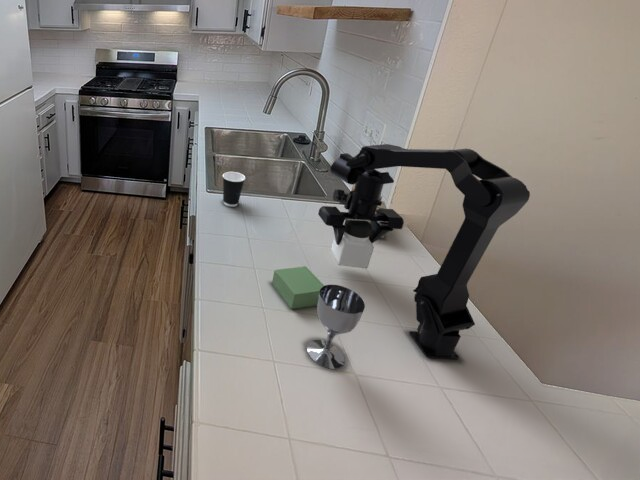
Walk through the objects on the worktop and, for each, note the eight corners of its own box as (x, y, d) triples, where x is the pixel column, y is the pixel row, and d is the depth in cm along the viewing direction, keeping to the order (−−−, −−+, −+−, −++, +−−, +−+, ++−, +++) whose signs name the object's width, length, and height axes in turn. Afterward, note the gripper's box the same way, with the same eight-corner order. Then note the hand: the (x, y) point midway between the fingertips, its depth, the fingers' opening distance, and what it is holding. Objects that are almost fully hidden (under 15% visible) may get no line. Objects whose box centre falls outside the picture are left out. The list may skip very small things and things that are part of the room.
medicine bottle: (367, 269, 100) (379, 229, 95) (338, 265, 101) (348, 226, 96) (358, 253, 106) (369, 215, 101) (330, 250, 107) (340, 212, 103)
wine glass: (323, 374, 76) (340, 317, 70) (296, 342, 83) (310, 288, 77) (355, 365, 78) (375, 309, 72) (327, 335, 85) (342, 281, 79)
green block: (324, 304, 94) (328, 289, 92) (291, 309, 92) (294, 294, 90) (302, 279, 102) (305, 266, 100) (271, 283, 100) (274, 269, 99)
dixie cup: (243, 209, 136) (247, 181, 132) (220, 208, 137) (224, 180, 132) (239, 198, 143) (243, 172, 139) (218, 197, 144) (221, 171, 140)
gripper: (388, 180, 102) (373, 229, 109) (316, 177, 104) (305, 226, 110) (413, 200, 92) (395, 253, 98) (333, 196, 93) (320, 249, 100)
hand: (352, 244), depth 102 cm, fingers closed on medicine bottle, 7 cm apart
